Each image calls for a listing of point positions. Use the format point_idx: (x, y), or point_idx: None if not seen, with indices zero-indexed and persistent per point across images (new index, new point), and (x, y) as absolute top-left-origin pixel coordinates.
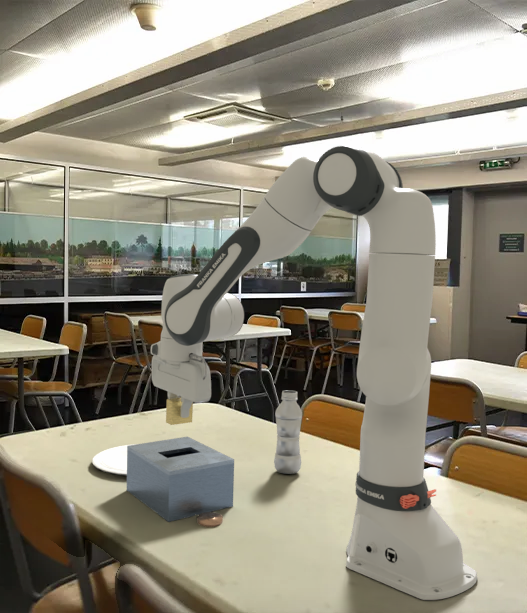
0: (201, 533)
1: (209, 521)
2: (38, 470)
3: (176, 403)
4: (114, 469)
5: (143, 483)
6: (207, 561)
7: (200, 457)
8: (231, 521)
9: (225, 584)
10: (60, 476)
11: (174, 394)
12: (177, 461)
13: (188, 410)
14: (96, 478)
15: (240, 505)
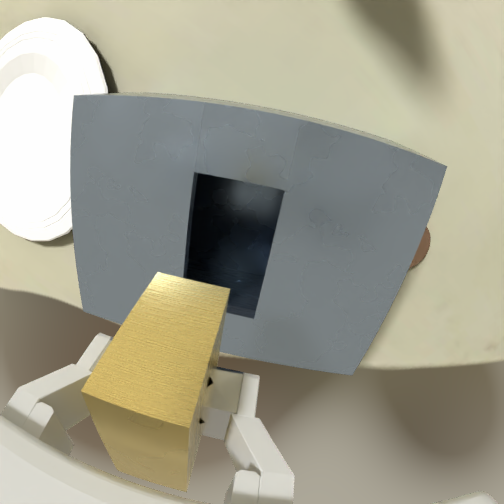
0: (418, 285)
1: (417, 260)
2: (11, 289)
3: (190, 468)
4: (49, 224)
5: None
6: (466, 332)
7: (336, 240)
8: (436, 209)
9: (498, 346)
10: (36, 284)
11: (59, 440)
12: (307, 320)
13: (254, 410)
14: (58, 251)
15: (398, 122)
